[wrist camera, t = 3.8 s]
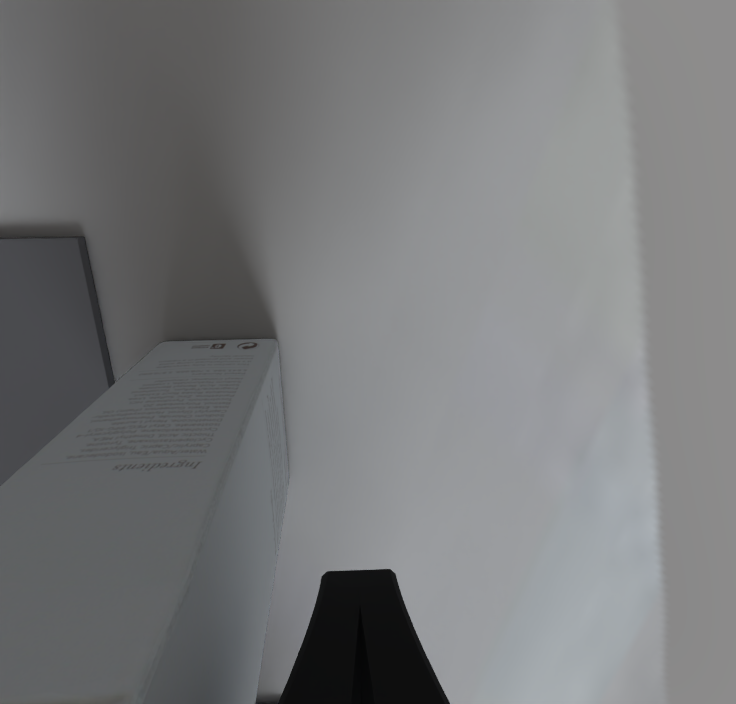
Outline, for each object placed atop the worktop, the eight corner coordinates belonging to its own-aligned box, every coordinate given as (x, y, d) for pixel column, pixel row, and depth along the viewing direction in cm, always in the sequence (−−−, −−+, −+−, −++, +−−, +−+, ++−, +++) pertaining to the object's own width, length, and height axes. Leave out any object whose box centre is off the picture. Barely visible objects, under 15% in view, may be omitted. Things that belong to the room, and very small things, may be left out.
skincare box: (156, 338, 16) (-358, 728, 4) (287, 334, 16) (128, 699, 4) (183, 490, 18) (-114, 1028, 6) (300, 485, 18) (214, 1004, 6)
